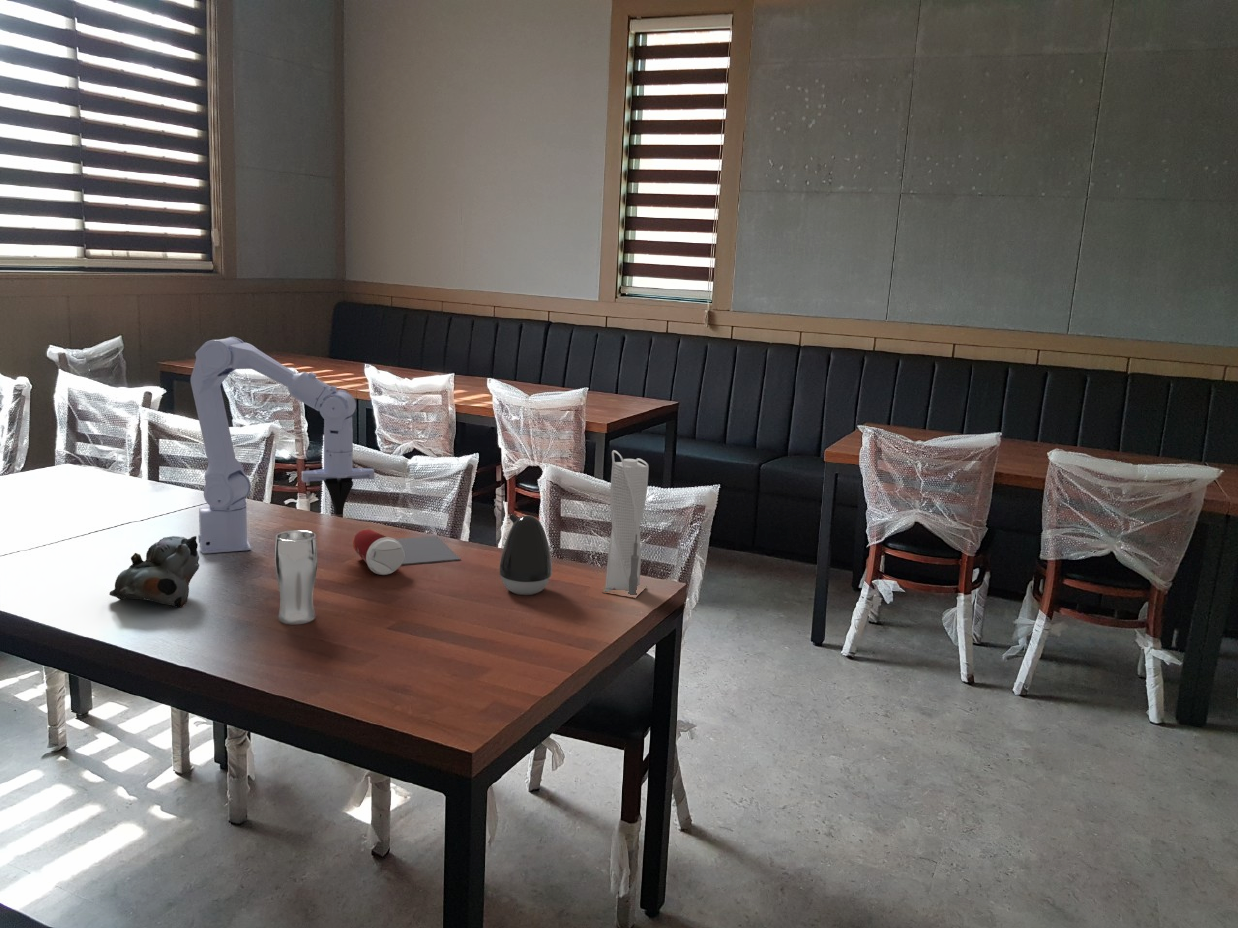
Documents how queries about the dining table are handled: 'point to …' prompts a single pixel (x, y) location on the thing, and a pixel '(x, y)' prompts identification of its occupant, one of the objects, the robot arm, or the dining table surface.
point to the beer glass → (296, 575)
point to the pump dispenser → (525, 557)
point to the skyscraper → (626, 523)
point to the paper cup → (379, 551)
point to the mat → (426, 550)
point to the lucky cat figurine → (160, 572)
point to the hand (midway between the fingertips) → (338, 513)
